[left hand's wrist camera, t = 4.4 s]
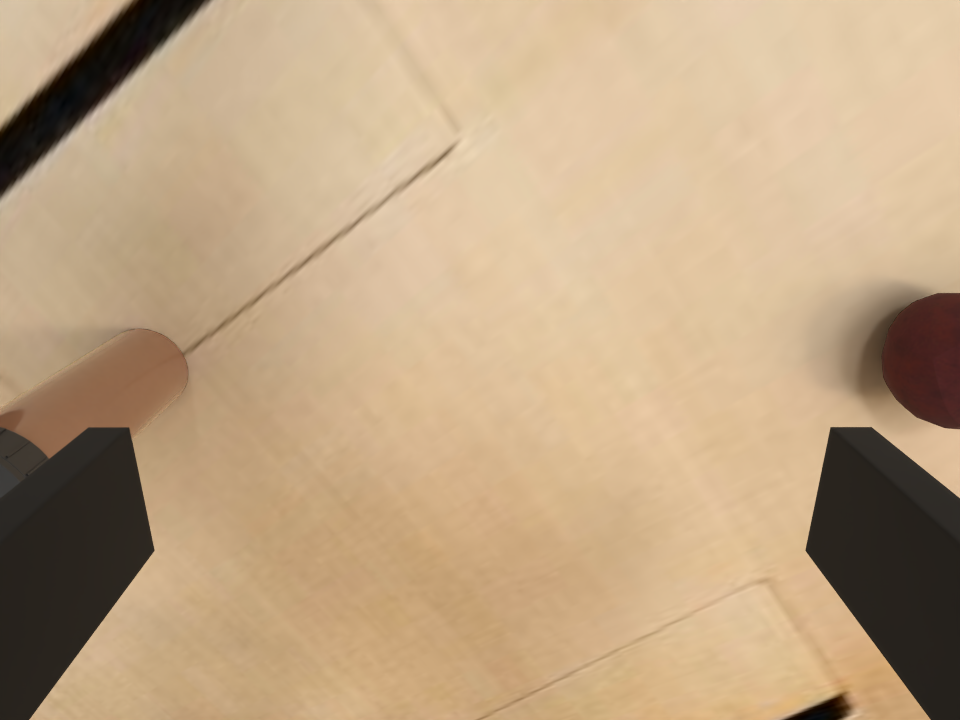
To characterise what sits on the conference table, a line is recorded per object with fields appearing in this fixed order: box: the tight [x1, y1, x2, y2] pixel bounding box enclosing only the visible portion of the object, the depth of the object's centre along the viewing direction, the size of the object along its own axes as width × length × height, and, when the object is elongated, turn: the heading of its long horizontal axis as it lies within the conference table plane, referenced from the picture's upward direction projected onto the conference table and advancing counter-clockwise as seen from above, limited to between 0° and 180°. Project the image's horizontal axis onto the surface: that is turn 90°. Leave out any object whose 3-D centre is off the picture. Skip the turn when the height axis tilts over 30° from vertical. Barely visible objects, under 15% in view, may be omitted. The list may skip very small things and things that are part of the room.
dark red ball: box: [882, 293, 960, 429], centre depth 38 cm, size 7×8×7 cm
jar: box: [0, 329, 188, 459], centre depth 35 cm, size 5×5×16 cm
